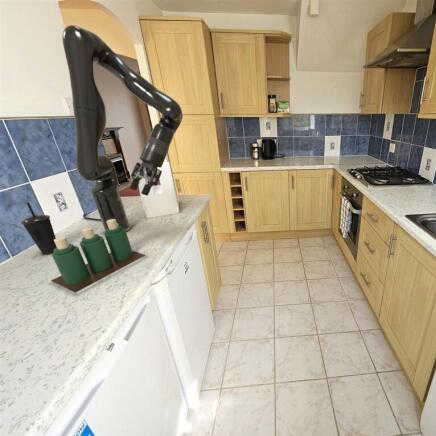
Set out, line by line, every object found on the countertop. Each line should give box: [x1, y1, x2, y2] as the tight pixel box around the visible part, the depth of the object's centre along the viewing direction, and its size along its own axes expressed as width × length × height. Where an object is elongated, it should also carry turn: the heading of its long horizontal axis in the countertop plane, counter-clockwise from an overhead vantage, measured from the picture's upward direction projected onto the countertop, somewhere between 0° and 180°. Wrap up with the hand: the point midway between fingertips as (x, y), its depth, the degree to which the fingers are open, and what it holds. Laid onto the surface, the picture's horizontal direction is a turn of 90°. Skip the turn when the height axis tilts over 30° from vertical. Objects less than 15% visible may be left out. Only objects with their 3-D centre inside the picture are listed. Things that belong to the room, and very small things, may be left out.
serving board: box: [50, 250, 146, 294], centre depth 81 cm, size 14×22×1 cm, turn 155°
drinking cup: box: [20, 202, 57, 255], centre depth 90 cm, size 8×8×20 cm
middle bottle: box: [79, 226, 113, 272], centre depth 78 cm, size 6×6×14 cm
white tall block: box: [138, 161, 180, 219], centre depth 128 cm, size 19×15×25 cm
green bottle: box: [103, 219, 133, 261], centre depth 84 cm, size 6×6×14 cm
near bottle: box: [51, 236, 90, 285], centre depth 73 cm, size 6×6×14 cm
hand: (138, 192), depth 90 cm, fingers open, 8 cm apart
